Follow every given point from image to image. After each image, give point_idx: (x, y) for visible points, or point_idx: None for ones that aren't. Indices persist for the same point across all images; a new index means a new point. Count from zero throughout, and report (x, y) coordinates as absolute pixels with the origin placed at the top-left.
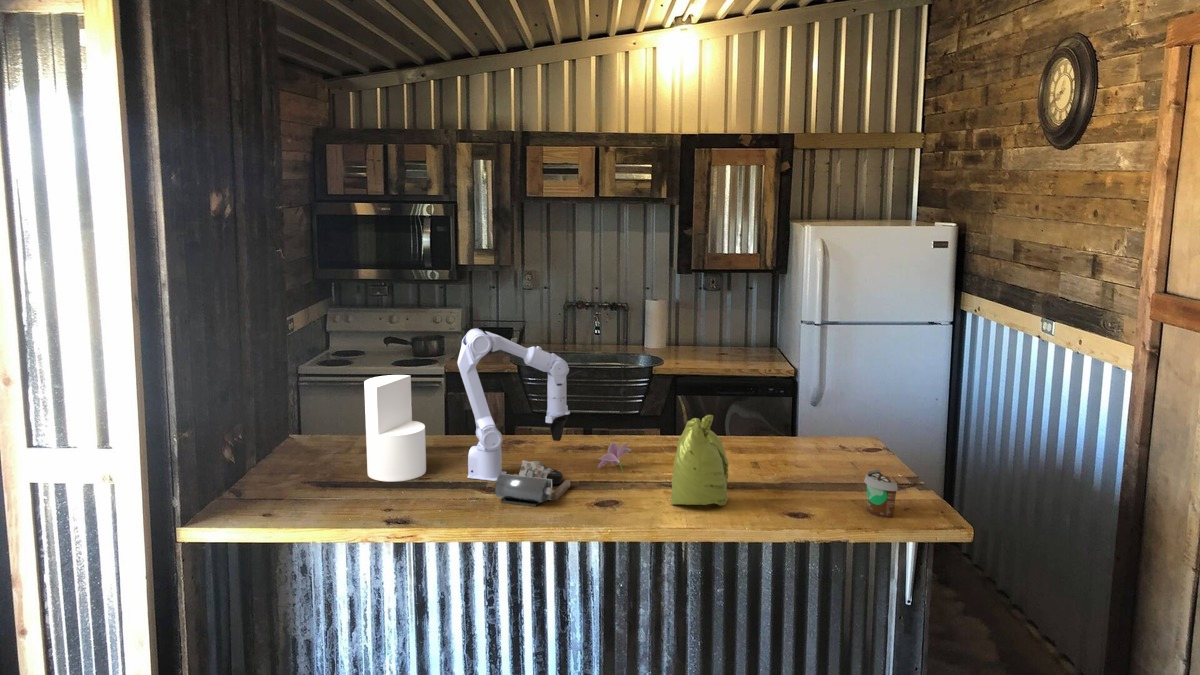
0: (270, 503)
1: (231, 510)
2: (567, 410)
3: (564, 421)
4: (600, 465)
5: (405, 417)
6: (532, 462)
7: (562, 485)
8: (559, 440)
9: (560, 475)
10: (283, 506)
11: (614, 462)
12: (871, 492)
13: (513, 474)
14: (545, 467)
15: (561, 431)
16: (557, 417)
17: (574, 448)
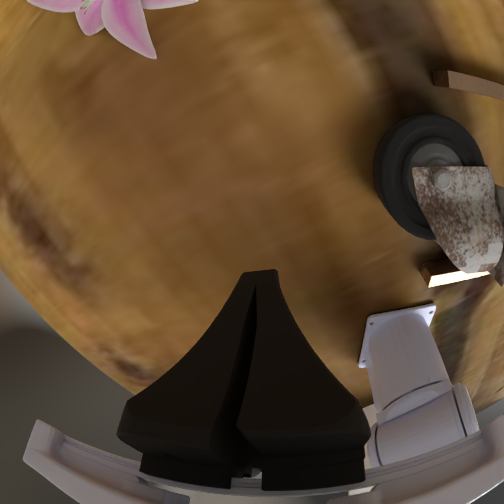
0: (476, 404)
1: (484, 405)
2: (38, 428)
3: (247, 408)
4: (145, 46)
5: (368, 491)
6: (489, 255)
7: (497, 90)
8: (275, 271)
9: (443, 119)
10: (485, 396)
11: (95, 23)
12: None
13: (434, 285)
14: (428, 207)
15: (263, 318)
16: (332, 486)
17: (55, 256)
